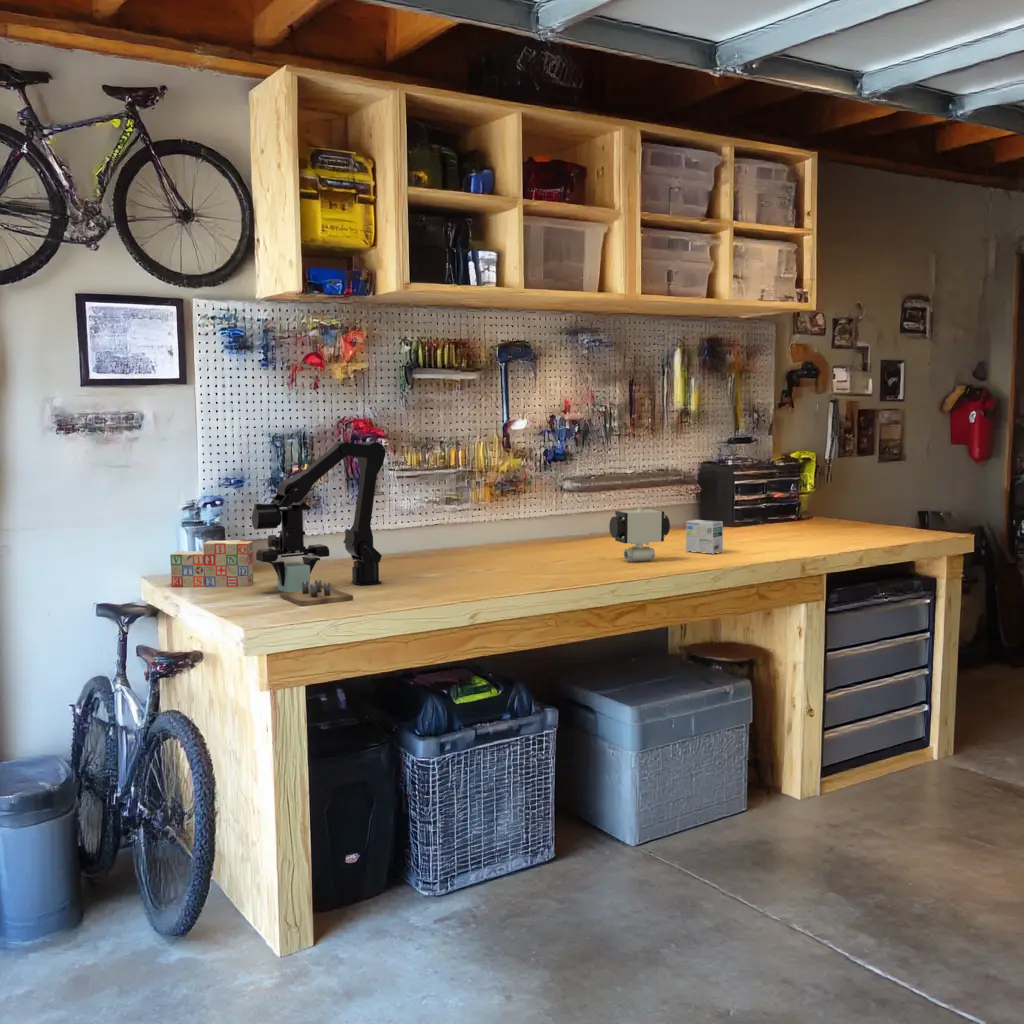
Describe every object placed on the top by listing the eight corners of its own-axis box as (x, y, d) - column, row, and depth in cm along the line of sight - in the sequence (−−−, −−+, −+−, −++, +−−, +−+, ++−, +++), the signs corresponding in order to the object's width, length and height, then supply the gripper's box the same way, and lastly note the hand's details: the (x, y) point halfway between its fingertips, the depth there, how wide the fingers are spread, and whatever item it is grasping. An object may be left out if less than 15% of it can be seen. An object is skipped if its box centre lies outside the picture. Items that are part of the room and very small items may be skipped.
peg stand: (330, 592, 270) (330, 576, 270) (353, 600, 259) (352, 583, 258) (280, 597, 263) (279, 581, 262) (301, 606, 251) (300, 589, 251)
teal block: (298, 587, 278) (298, 562, 277) (310, 591, 271) (309, 565, 271) (278, 589, 275) (277, 564, 274) (289, 594, 268) (288, 567, 267)
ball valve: (657, 557, 330) (658, 503, 328) (669, 561, 322) (670, 505, 320) (607, 560, 324) (607, 505, 322) (618, 564, 316) (618, 507, 314)
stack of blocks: (170, 587, 279) (169, 543, 277) (177, 583, 285) (176, 540, 284) (249, 587, 279) (247, 542, 278) (254, 583, 286) (253, 539, 284)
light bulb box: (723, 552, 341) (723, 521, 340) (713, 555, 336) (713, 522, 335) (695, 550, 348) (695, 518, 347) (685, 552, 343) (685, 520, 342)
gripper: (313, 522, 283) (314, 577, 285) (248, 526, 273) (249, 584, 274) (329, 525, 274) (330, 582, 276) (263, 530, 264) (264, 590, 265)
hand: (294, 584), depth 273 cm, fingers closed on teal block, 6 cm apart
